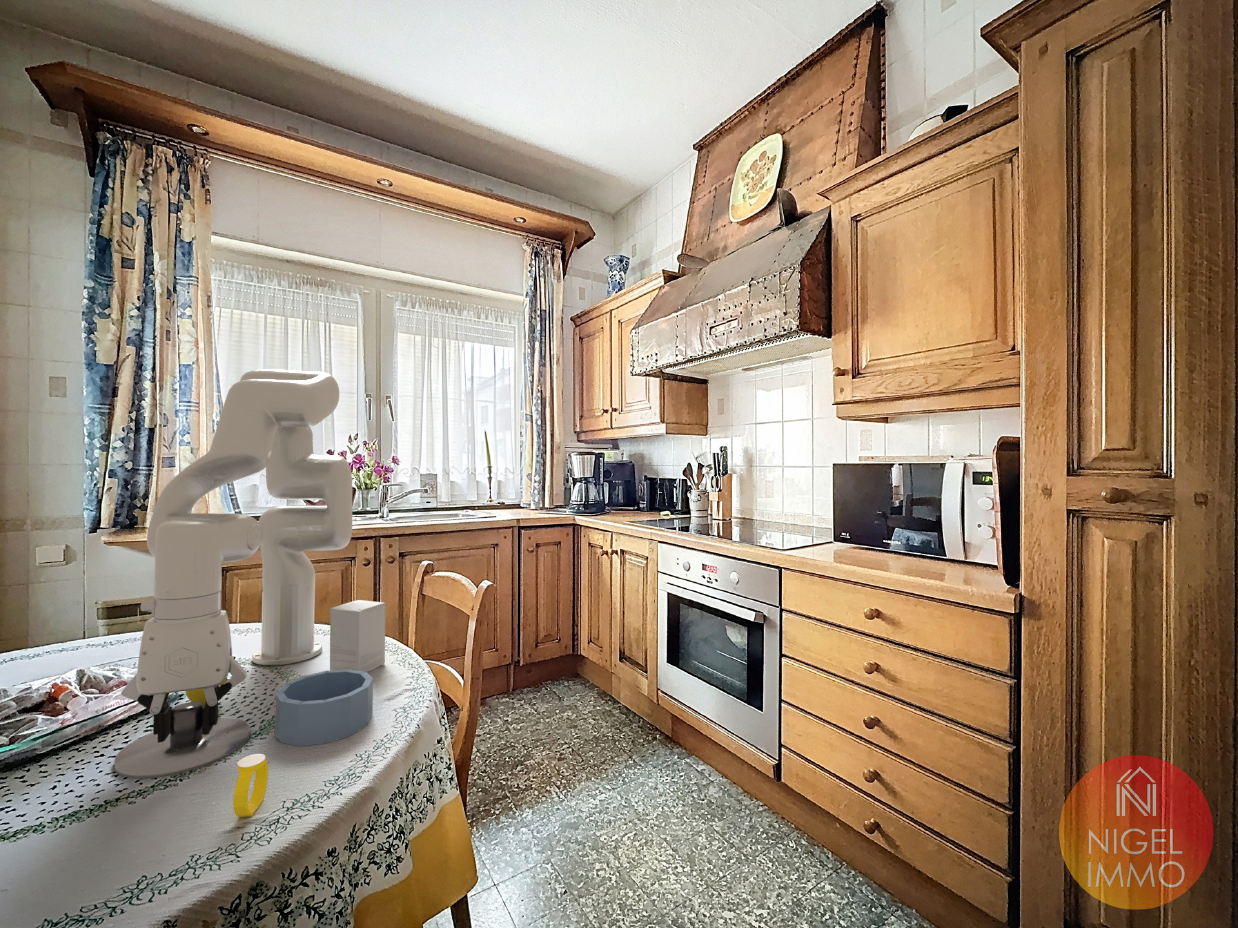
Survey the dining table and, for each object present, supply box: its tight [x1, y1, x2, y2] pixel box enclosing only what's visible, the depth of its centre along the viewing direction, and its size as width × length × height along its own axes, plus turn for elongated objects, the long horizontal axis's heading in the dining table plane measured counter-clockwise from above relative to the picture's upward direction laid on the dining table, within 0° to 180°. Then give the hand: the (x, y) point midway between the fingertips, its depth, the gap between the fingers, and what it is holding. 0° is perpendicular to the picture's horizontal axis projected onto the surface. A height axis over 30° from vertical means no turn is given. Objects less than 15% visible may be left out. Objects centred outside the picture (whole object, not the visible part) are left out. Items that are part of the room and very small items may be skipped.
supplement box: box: [329, 599, 386, 673], centre depth 108 cm, size 7×7×13 cm
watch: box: [233, 753, 269, 818], centre depth 64 cm, size 6×3×6 cm, turn 13°
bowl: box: [274, 669, 374, 747], centre depth 84 cm, size 13×13×6 cm
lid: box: [113, 701, 251, 780], centre depth 77 cm, size 15×15×6 cm
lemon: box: [185, 677, 228, 707], centre depth 90 cm, size 6×6×8 cm
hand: (186, 732), depth 77 cm, fingers open, 4 cm apart
